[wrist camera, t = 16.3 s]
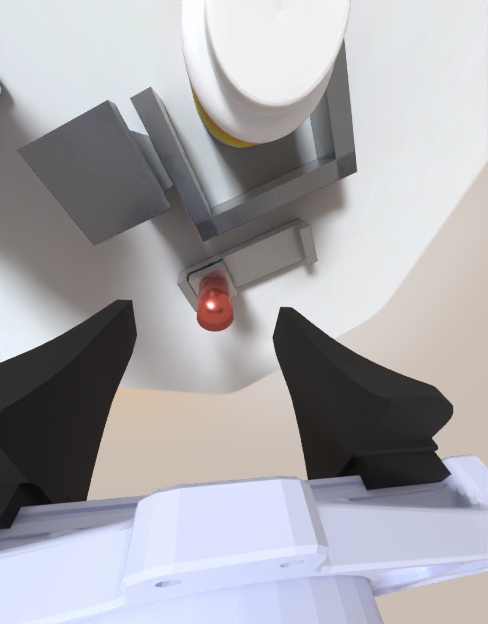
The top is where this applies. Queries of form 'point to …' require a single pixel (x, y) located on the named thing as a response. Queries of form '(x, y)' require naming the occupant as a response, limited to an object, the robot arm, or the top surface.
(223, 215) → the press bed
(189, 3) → the supplement bottle
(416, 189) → the top surface
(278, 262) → the lever rail
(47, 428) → the robot arm
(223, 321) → the lever
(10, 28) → the top surface
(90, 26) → the top surface
